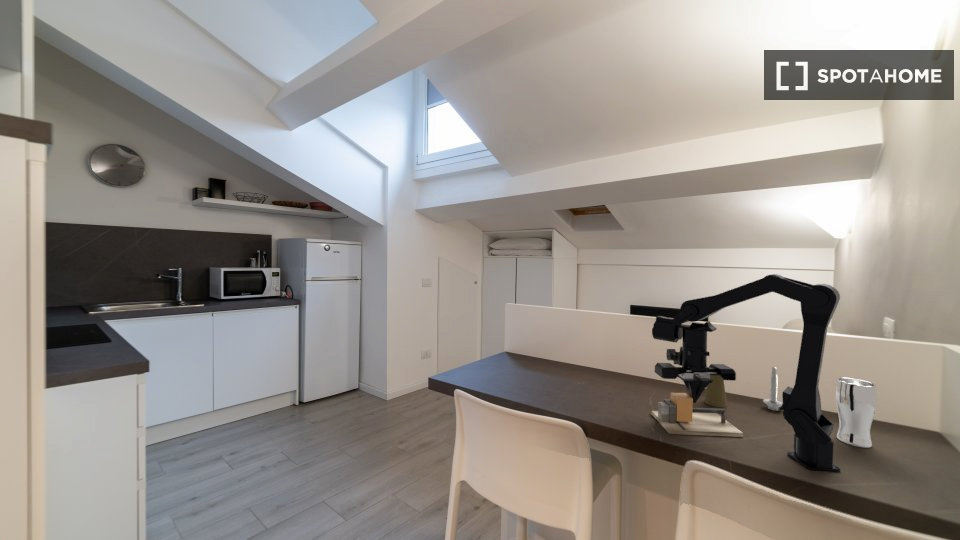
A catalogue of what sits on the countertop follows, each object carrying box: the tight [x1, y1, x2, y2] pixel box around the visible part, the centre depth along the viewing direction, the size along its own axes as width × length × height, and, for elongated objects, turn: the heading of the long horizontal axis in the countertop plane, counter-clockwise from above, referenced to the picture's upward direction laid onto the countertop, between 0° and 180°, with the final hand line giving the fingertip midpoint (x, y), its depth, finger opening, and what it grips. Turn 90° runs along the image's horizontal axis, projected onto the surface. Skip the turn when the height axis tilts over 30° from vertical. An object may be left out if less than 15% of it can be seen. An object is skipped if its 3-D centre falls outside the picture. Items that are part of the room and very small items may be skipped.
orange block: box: [670, 392, 694, 422], centre depth 99 cm, size 4×4×6 cm
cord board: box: [650, 398, 744, 438], centre depth 99 cm, size 12×18×6 cm, turn 85°
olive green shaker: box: [703, 375, 728, 408], centre depth 114 cm, size 6×6×11 cm
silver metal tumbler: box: [835, 377, 877, 449], centre depth 90 cm, size 7×7×15 cm
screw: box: [762, 366, 783, 412], centre depth 110 cm, size 13×5×5 cm
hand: (693, 402), depth 99 cm, fingers closed
